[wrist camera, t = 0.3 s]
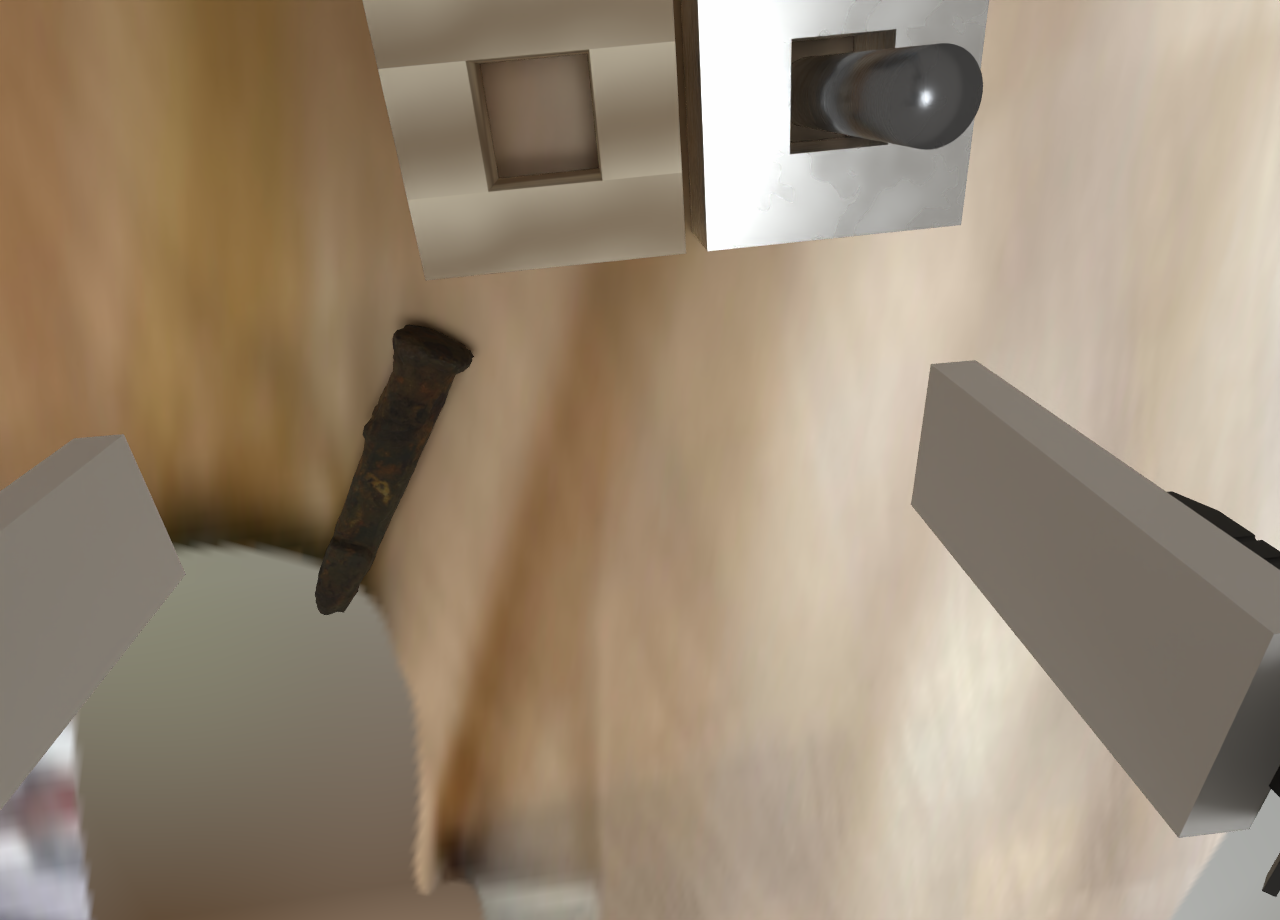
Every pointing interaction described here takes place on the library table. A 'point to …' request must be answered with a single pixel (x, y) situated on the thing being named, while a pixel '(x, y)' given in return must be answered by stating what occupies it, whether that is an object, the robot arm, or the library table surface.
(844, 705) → the library table surface
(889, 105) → the dark grey rounded rod
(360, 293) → the library table surface
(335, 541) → the hand tool
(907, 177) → the socket block
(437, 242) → the beige block with hole
